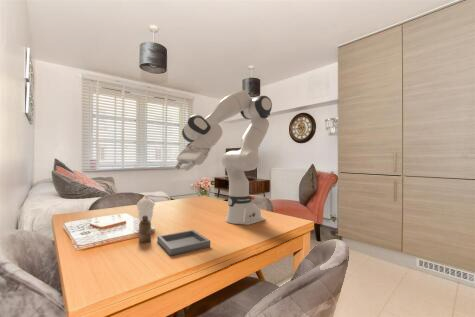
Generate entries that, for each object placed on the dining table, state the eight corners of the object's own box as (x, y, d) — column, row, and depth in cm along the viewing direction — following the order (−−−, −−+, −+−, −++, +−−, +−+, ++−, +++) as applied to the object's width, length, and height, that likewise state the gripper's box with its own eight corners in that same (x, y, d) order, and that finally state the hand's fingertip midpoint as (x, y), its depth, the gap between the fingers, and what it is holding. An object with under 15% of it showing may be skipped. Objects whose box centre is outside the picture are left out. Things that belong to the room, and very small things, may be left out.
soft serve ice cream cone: (148, 229, 114) (148, 196, 114) (132, 228, 115) (133, 195, 115) (157, 225, 122) (157, 193, 122) (142, 223, 124) (143, 192, 123)
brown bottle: (149, 238, 103) (149, 213, 102) (152, 241, 99) (152, 216, 99) (137, 240, 100) (138, 214, 100) (140, 243, 96) (140, 217, 96)
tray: (193, 235, 107) (193, 229, 107) (210, 246, 94) (210, 240, 94) (157, 242, 98) (157, 236, 98) (170, 256, 85) (170, 249, 85)
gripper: (215, 153, 110) (196, 175, 104) (192, 153, 126) (175, 172, 120) (207, 143, 107) (187, 165, 101) (185, 144, 123) (167, 163, 117)
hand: (180, 169), depth 111 cm, fingers open, 8 cm apart
